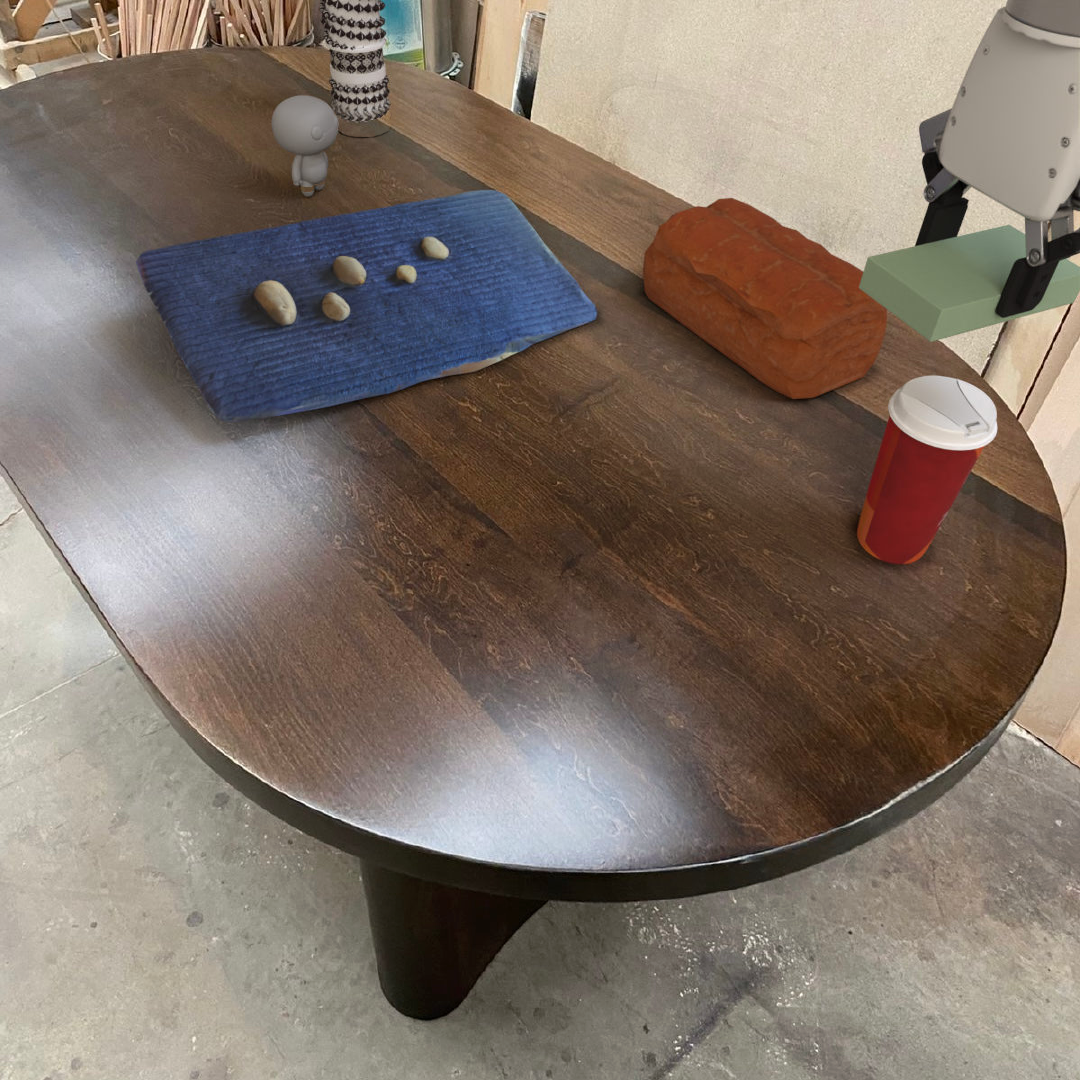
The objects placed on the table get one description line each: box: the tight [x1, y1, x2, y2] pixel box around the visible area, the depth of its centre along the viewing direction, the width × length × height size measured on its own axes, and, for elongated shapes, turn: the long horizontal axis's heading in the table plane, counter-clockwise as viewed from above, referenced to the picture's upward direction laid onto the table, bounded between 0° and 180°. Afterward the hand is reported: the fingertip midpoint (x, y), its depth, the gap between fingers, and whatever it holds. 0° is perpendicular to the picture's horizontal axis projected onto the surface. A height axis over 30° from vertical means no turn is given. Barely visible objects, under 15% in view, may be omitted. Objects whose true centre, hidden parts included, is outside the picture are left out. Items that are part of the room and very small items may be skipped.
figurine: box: [271, 94, 339, 198], centre depth 124 cm, size 8×8×12 cm
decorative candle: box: [318, 0, 392, 123], centre depth 135 cm, size 9×9×25 cm
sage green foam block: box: [859, 224, 1080, 343], centre depth 66 cm, size 13×7×2 cm, turn 115°
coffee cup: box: [856, 374, 998, 565], centre depth 79 cm, size 8×8×15 cm
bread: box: [642, 197, 888, 400], centre depth 104 cm, size 16×27×11 cm, turn 33°
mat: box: [135, 189, 598, 423], centre depth 106 cm, size 45×27×12 cm, turn 125°
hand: (971, 281), depth 66 cm, fingers closed on sage green foam block, 7 cm apart
